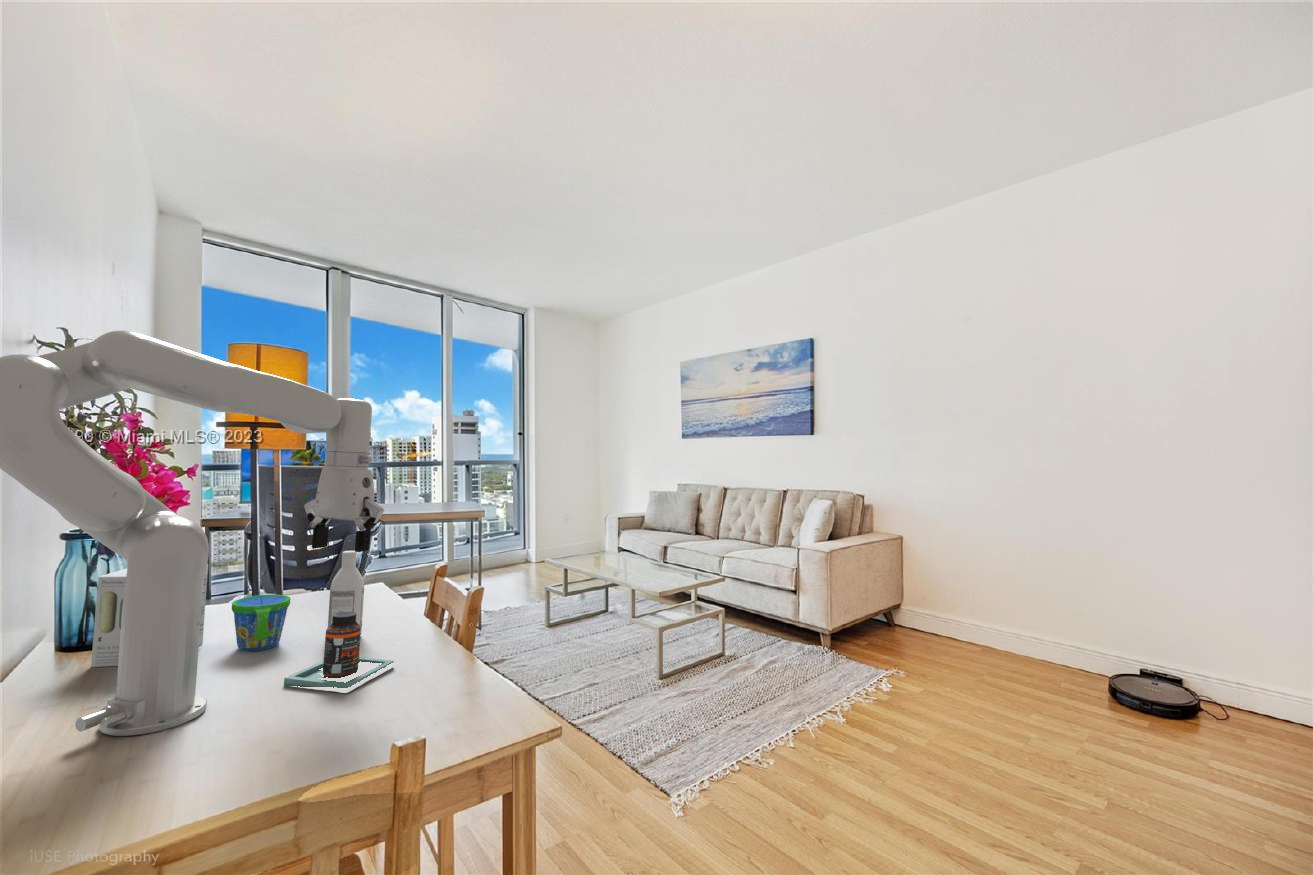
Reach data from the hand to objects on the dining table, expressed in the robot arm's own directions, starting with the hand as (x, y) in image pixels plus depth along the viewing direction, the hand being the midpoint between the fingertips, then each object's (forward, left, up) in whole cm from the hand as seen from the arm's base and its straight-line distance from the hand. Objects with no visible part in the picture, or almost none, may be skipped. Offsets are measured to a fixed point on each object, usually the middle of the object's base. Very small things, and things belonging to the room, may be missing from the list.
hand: (340, 549), depth 109 cm
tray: (0, -2, -24) cm, 24 cm away
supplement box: (0, +43, -24) cm, 49 cm away
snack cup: (+10, +27, -24) cm, 37 cm away
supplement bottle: (-1, -2, -24) cm, 24 cm away
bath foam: (+20, +14, -24) cm, 34 cm away
